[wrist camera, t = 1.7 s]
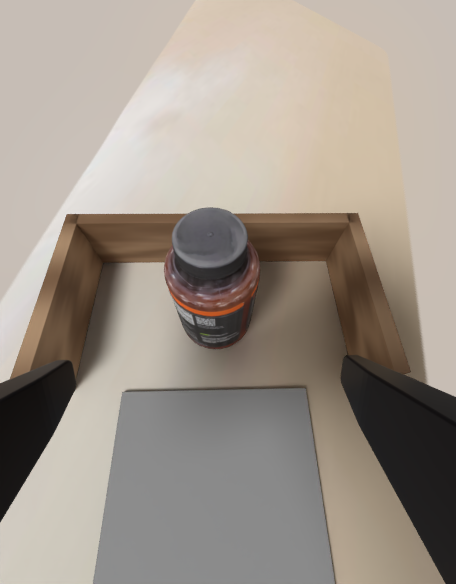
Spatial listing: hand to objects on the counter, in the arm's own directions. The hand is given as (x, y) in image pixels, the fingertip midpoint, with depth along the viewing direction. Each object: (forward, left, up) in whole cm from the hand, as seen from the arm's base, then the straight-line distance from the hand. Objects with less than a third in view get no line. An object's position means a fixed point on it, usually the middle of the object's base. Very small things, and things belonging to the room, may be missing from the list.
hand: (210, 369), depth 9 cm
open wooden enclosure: (+7, +1, -13) cm, 15 cm away
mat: (-6, -1, -13) cm, 14 cm away
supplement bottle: (+7, +1, -13) cm, 15 cm away
